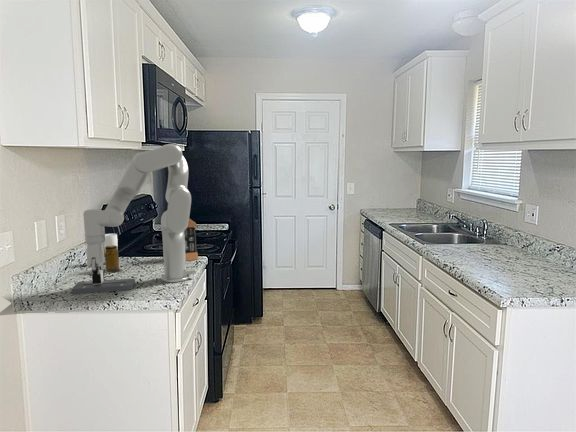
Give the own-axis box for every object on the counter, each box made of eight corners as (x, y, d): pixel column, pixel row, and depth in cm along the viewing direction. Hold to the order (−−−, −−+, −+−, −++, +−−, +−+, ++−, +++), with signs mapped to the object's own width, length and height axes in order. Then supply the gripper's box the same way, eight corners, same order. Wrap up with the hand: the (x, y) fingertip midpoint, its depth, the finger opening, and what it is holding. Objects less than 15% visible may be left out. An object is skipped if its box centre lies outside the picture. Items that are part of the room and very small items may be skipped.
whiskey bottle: (198, 259, 223) (196, 200, 219) (179, 261, 219) (177, 201, 215) (193, 255, 233) (191, 198, 228) (175, 257, 228) (173, 199, 224)
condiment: (107, 268, 207) (106, 244, 205) (125, 268, 208) (124, 244, 206) (102, 272, 200) (101, 248, 198) (121, 272, 200) (119, 247, 199)
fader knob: (103, 281, 178) (102, 269, 177) (101, 284, 174) (100, 272, 173) (96, 281, 177) (95, 270, 177) (93, 284, 173) (92, 273, 172)
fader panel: (135, 282, 183) (134, 278, 183) (131, 289, 174) (131, 284, 173) (78, 286, 179) (78, 281, 179) (71, 293, 169) (71, 288, 169)
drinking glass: (118, 264, 215) (116, 235, 213) (104, 265, 213) (102, 236, 211) (119, 260, 221) (117, 233, 219) (105, 261, 220) (103, 233, 217)
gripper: (90, 235, 180) (93, 276, 183) (79, 243, 164) (83, 288, 166) (109, 234, 182) (112, 275, 184) (100, 242, 165) (103, 287, 168)
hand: (98, 281), depth 175 cm, fingers closed on fader knob, 4 cm apart
